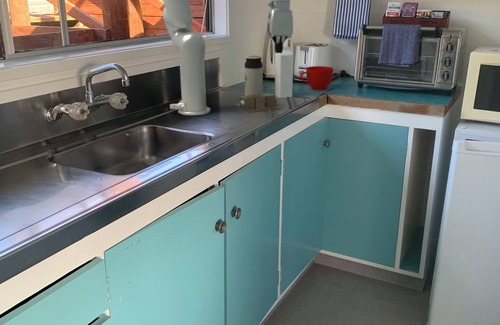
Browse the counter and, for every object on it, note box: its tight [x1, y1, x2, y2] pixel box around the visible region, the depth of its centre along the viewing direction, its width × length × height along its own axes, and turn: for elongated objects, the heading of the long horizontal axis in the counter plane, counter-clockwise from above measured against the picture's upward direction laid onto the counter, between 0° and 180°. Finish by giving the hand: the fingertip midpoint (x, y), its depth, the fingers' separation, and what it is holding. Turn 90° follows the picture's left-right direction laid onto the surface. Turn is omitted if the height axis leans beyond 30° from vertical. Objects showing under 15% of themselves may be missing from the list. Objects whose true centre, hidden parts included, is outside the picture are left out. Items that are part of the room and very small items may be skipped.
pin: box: [239, 96, 279, 106], centre depth 206 cm, size 16×3×3 cm, turn 115°
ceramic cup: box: [299, 65, 334, 91], centre depth 242 cm, size 13×17×10 cm
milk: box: [274, 46, 294, 99], centre depth 224 cm, size 6×6×22 cm
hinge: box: [235, 92, 281, 114], centre depth 206 cm, size 14×13×5 cm
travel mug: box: [244, 54, 264, 96], centre depth 225 cm, size 8×8×18 cm
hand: (278, 52), depth 207 cm, fingers closed
